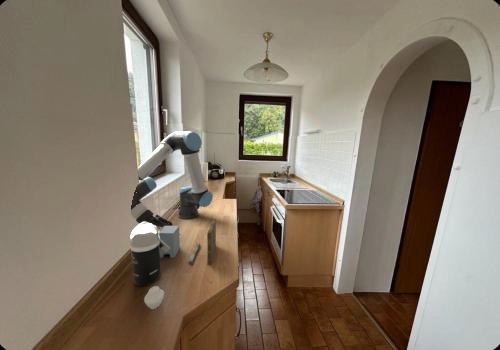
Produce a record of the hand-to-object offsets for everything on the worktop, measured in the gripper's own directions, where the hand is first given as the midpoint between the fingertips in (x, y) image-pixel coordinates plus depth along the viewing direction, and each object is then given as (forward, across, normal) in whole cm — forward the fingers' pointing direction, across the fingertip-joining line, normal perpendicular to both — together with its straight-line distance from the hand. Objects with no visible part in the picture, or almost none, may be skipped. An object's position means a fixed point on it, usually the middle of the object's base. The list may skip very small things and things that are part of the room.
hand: (173, 242), depth 93 cm
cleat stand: (+15, +1, +7) cm, 16 cm away
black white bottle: (+1, +18, -7) cm, 19 cm away
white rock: (+7, +31, -1) cm, 32 cm away
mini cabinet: (+2, 0, -6) cm, 6 cm away
